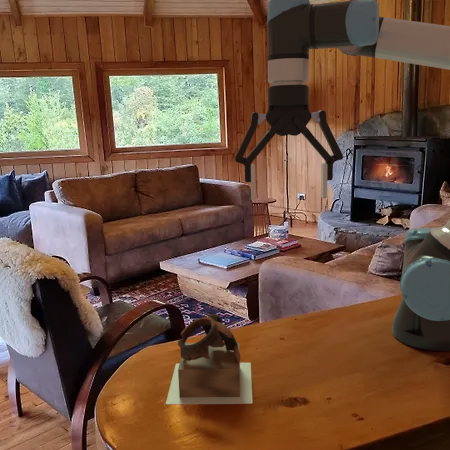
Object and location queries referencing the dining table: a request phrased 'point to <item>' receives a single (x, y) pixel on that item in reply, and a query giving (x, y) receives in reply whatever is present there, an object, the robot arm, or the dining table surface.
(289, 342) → the dining table surface
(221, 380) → the walnut block
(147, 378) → the dining table surface
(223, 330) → the pottery mug
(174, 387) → the build board
